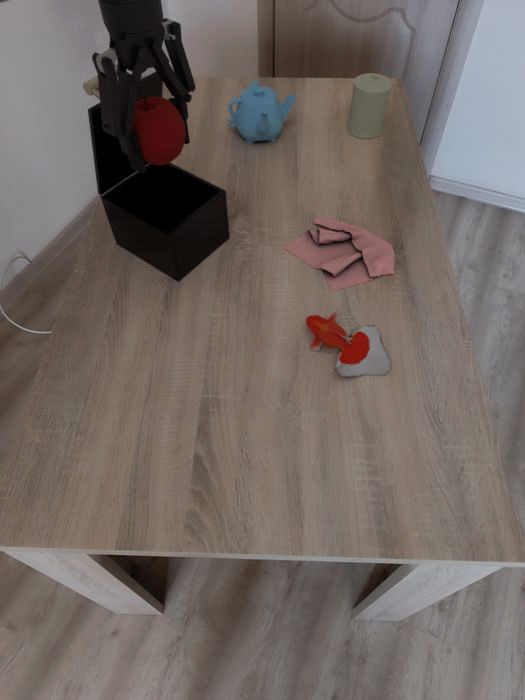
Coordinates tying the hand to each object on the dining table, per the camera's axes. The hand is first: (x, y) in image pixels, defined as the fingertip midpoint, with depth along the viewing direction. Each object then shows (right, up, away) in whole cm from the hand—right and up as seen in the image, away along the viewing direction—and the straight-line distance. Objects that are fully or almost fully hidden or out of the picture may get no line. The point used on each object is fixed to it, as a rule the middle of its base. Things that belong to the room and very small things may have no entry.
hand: (161, 154), depth 76 cm
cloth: (+32, -11, +21) cm, 40 cm away
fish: (+31, -32, +7) cm, 45 cm away
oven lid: (-7, +6, +8) cm, 12 cm away
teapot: (+16, +24, +45) cm, 54 cm away
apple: (0, 0, 0) cm, 0 cm away
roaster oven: (-2, -8, +23) cm, 25 cm away
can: (+42, +26, +46) cm, 68 cm away
